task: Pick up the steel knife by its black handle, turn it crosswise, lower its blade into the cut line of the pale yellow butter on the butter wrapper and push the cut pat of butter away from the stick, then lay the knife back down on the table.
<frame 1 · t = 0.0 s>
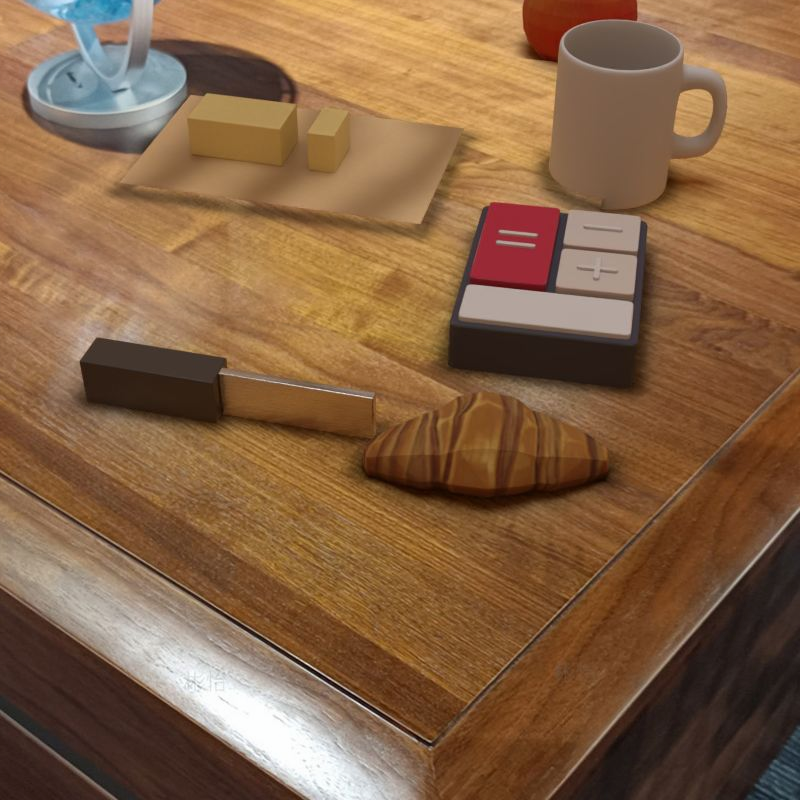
butter wrapper: (297, 172, 100), on the table
fruit: (575, 61, 115), on the table
butter stick: (245, 147, 100), resting on butter wrapper
mug: (629, 189, 98), on the table
croissant: (484, 478, 75), on the table
knife: (232, 420, 78), on the table
calculator: (550, 316, 86), on the table
butter pat: (329, 158, 98), point 1 cm above the table, touching butter wrapper
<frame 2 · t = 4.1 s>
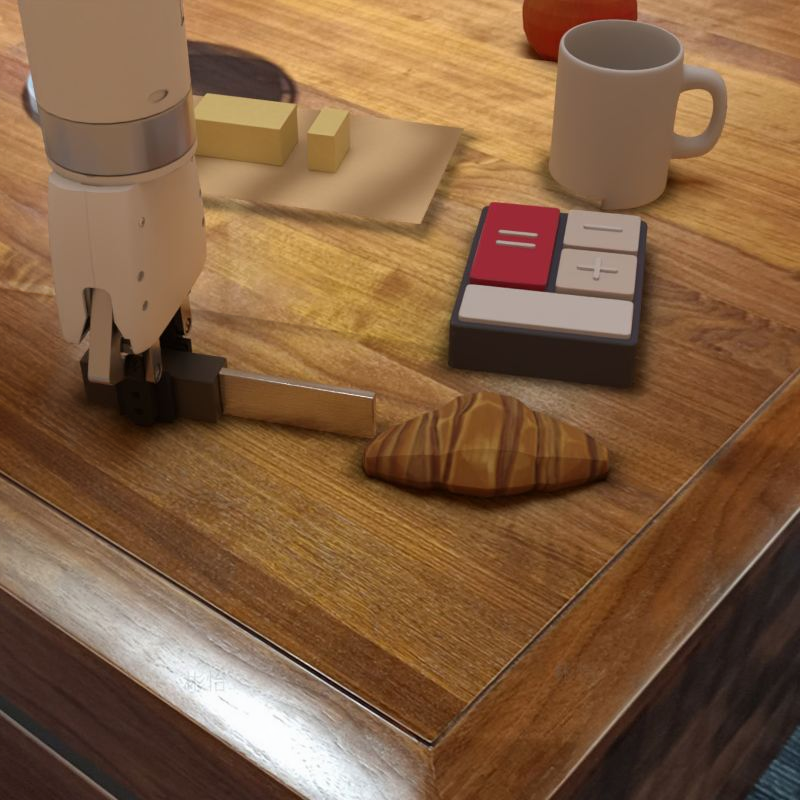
hand: (159, 405, 79), 0 cm above the table, tool pointing down, fingers closed on knife, 2 cm apart
knife: (233, 420, 78), on the table, touching gripper
everything else where it was.
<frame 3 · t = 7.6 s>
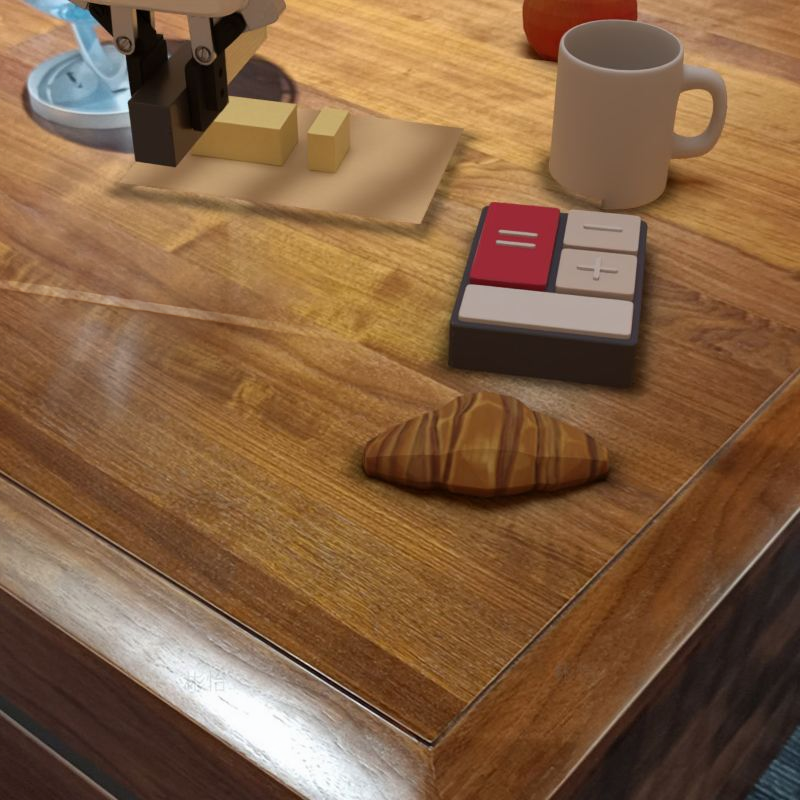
hand: (181, 114, 75), 15 cm above the table, tool pointing down, fingers closed on knife, 2 cm apart
knife: (213, 96, 79), point 14 cm above the table, touching gripper
everything else where it was.
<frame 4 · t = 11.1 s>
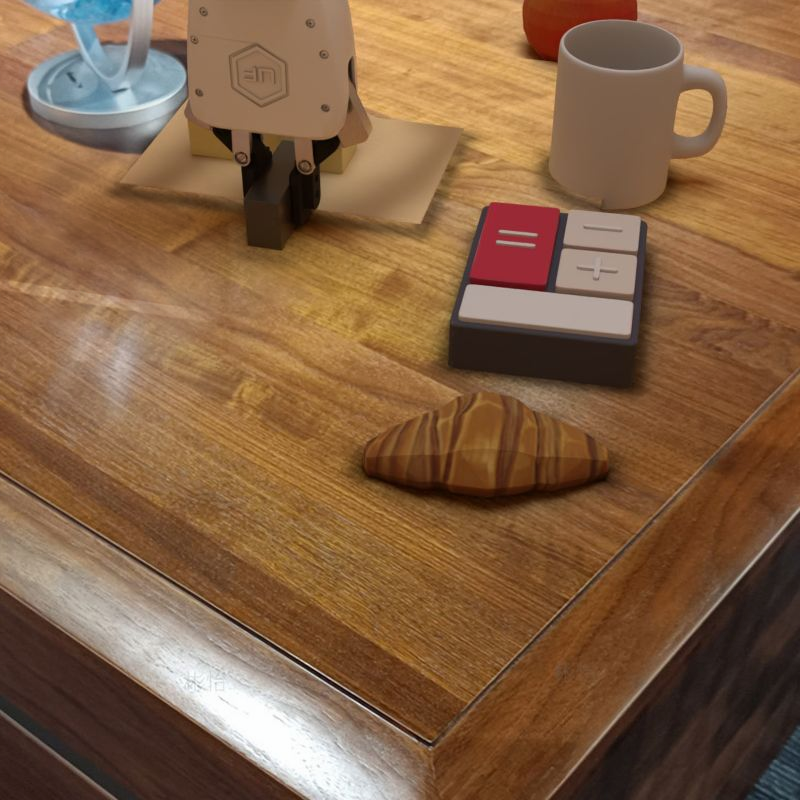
hand: (283, 210, 92), 2 cm above the table, tool pointing down, fingers closed on knife, 2 cm apart
knife: (302, 183, 96), point 2 cm above the table, touching butter pat, gripper
butter pat: (336, 159, 98), point 2 cm above the table, touching knife
everything else where it was.
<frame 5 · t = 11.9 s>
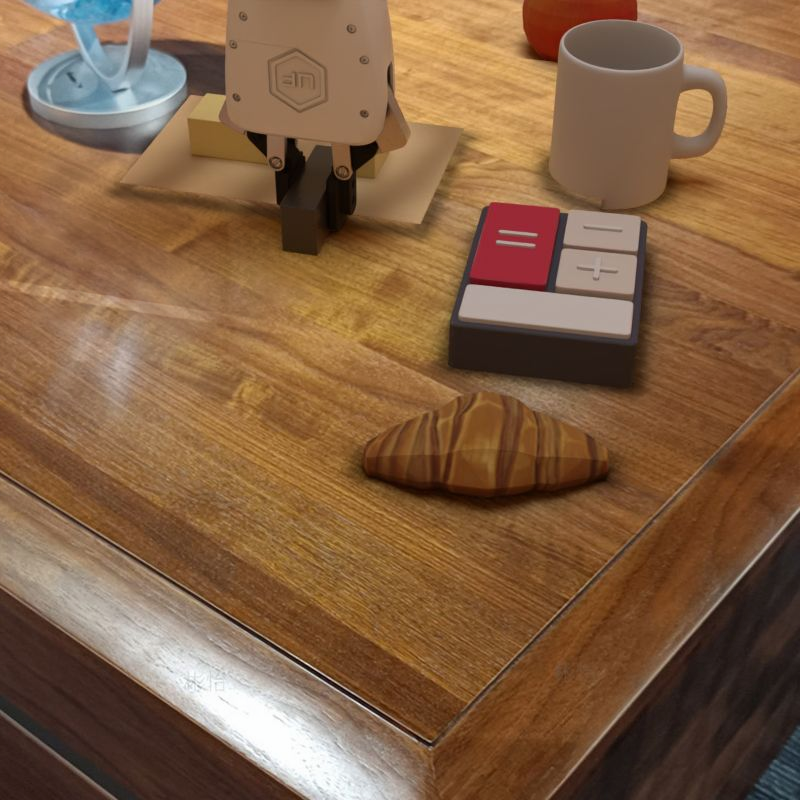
hand: (317, 215, 91), 2 cm above the table, tool pointing down, fingers closed on knife, 2 cm apart
knife: (336, 187, 95), point 2 cm above the table, touching butter wrapper, gripper
butter pat: (369, 163, 98), point 2 cm above the table, touching butter wrapper
everything else where it was.
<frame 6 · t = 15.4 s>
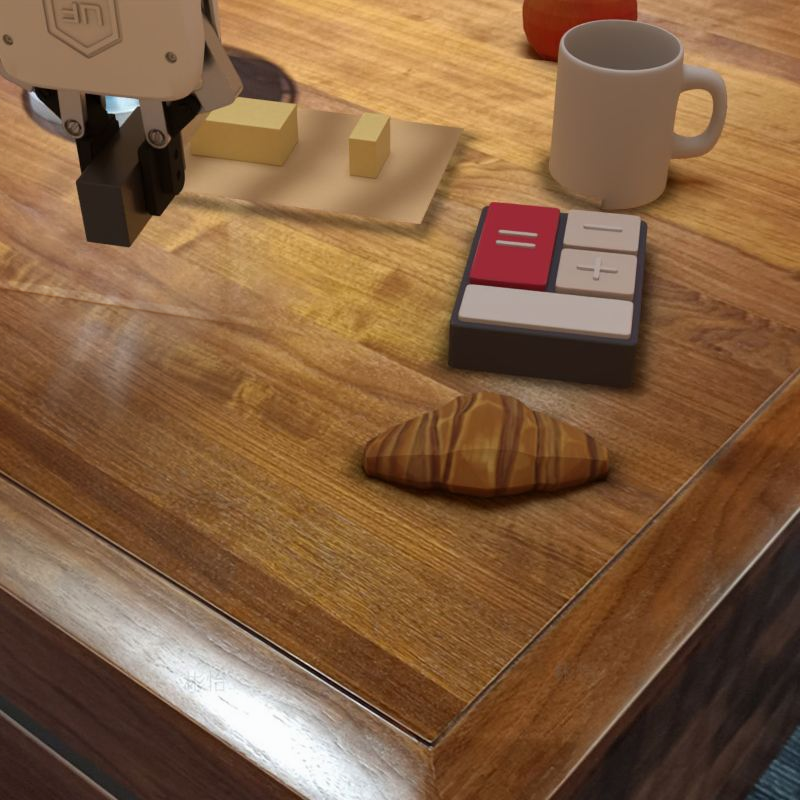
hand: (136, 196, 71), 13 cm above the table, tool pointing down, fingers closed on knife, 2 cm apart
knife: (169, 161, 75), point 13 cm above the table, touching gripper
everything else where it was.
when the fingers open (1 cm above the table, at t = 18.0 s): knife stays where it is, on the table.
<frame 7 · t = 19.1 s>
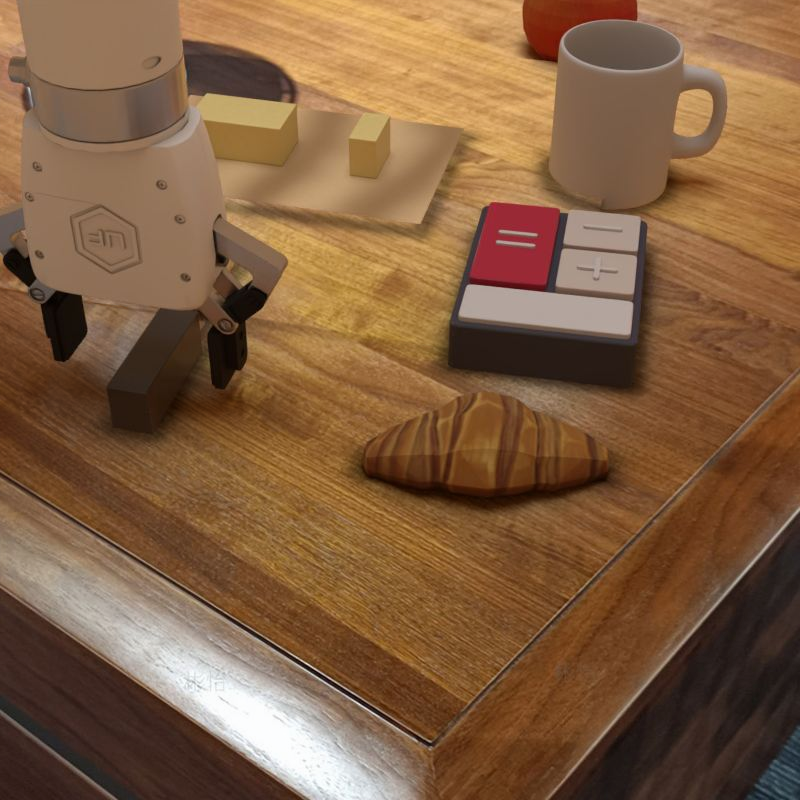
hand: (148, 361, 78), 2 cm above the table, tool pointing down, fingers open, 9 cm apart
knife: (188, 351, 83), on the table
everything else where it was.
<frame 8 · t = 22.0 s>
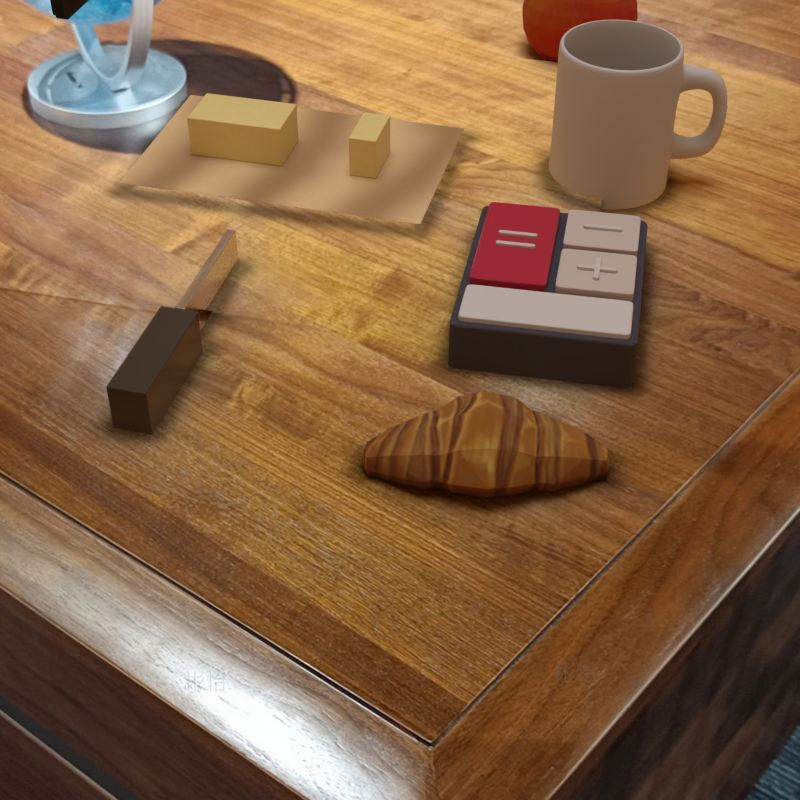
nothing on the table moved.
at the end: butter pat 1.0 cm from the target spot on the butter wrapper, point 1.5 cm above the butter wrapper's base; butter pat moved 3.0 cm from its start; the gripper is holding nothing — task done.
